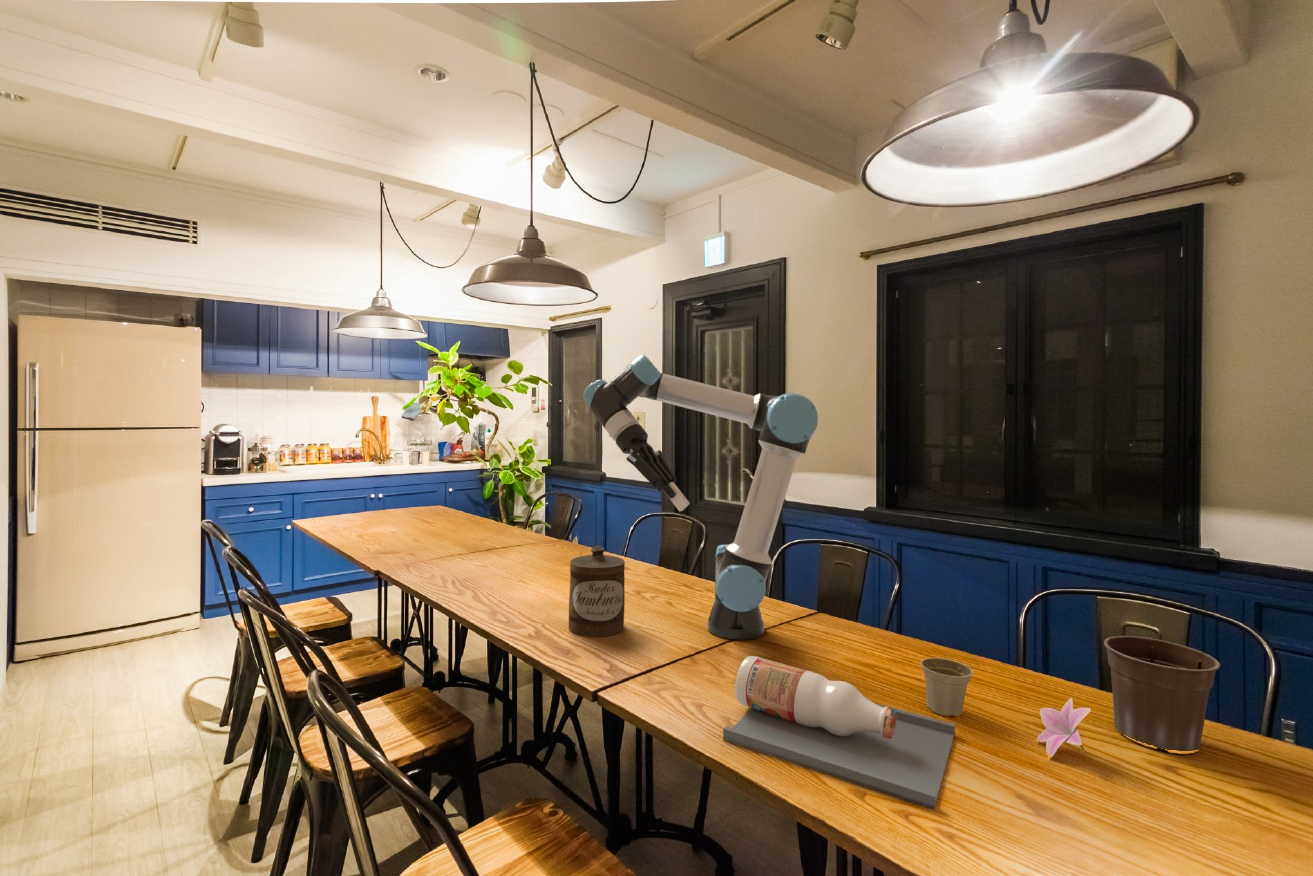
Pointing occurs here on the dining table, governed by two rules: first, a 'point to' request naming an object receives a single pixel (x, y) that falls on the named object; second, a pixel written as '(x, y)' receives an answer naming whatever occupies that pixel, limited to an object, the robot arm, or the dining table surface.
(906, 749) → the gray tray
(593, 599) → the wooden container
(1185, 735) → the plant pot
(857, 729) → the fruit juice
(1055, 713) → the lily
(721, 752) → the dining table surface
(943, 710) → the flower pot
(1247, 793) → the dining table surface
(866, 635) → the dining table surface
